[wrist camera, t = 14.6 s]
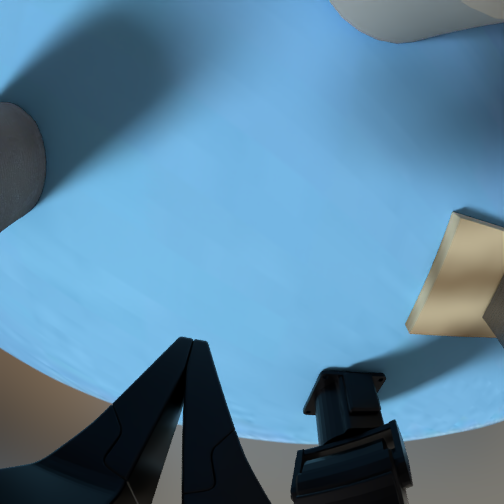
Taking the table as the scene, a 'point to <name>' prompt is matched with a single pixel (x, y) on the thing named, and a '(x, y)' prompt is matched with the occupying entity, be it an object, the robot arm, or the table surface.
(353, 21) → the can
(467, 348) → the table surface
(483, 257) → the beige piece
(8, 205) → the pillar candle
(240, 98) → the table surface
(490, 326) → the shaft
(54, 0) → the table surface
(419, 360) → the table surface
